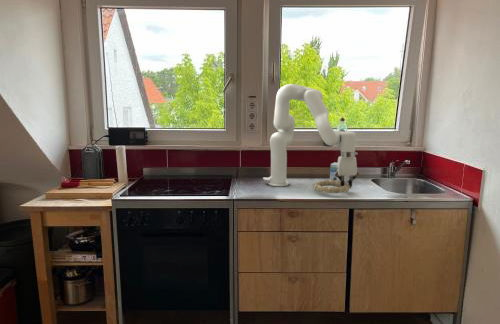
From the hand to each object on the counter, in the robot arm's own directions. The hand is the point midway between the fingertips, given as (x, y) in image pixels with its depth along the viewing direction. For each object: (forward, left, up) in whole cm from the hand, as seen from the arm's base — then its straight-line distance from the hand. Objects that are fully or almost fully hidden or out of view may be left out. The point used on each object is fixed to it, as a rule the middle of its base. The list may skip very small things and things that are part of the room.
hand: (346, 187), depth 189 cm
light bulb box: (+4, +30, -3) cm, 30 cm away
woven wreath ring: (-8, 0, +1) cm, 8 cm away
